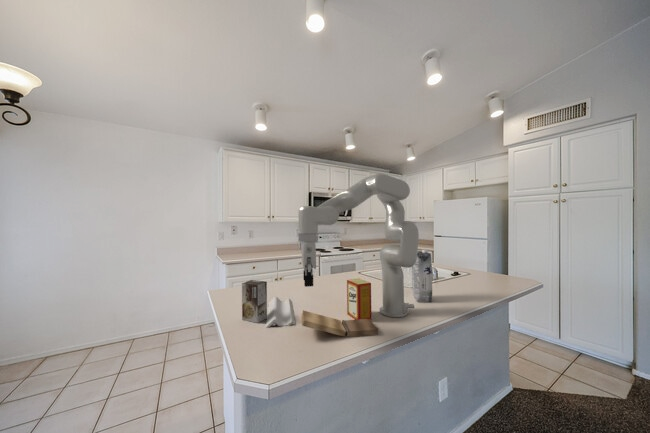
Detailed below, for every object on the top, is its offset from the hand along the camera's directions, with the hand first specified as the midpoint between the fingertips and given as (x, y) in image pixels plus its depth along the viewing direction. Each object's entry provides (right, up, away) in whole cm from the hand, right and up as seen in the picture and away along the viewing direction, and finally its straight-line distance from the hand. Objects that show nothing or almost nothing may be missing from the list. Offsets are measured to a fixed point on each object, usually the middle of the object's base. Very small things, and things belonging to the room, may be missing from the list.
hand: (308, 283), depth 92 cm
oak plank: (+5, -16, 0) cm, 17 cm away
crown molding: (-15, -21, +21) cm, 33 cm away
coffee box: (-25, -20, +13) cm, 34 cm away
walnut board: (+20, -19, +1) cm, 27 cm away
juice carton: (+59, -20, +37) cm, 72 cm away
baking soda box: (+22, -19, +15) cm, 33 cm away
